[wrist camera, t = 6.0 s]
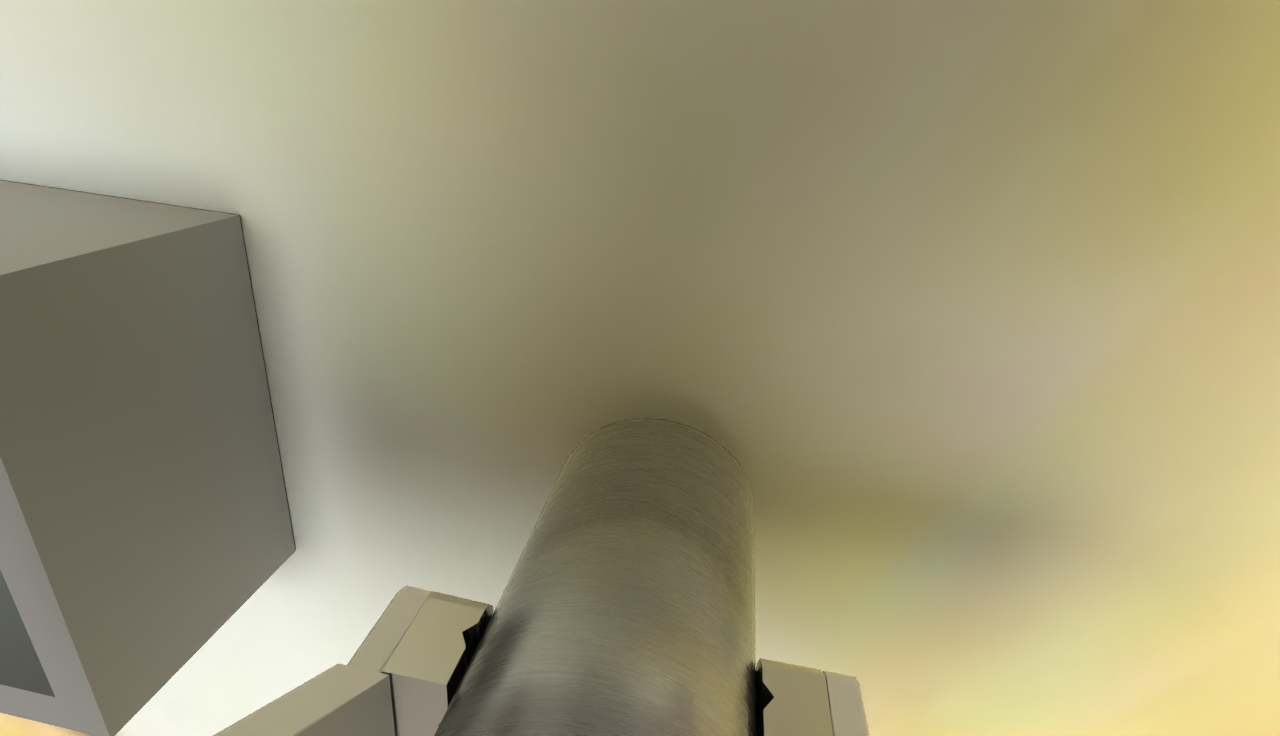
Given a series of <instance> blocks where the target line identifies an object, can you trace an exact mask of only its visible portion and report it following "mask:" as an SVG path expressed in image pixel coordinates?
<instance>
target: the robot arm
mask: <svg viewBox="0 0 1280 736" xmlns="http://www.w3.org/2000/svg"><path fill="white" fill-rule="evenodd" d="M492 615H493V606H492V605H490V604H486V603H481V602H477V601H473V600H469V599H464V598H460V597H456V596H451V595H447V594H443V593H438V592H433V591H428V590H424V589H419V588H415V587H410V586H405V587H404V588H403V589H401V590H400V591H399V592H397V594H396V595H395V597H394V598H393V600H392V601H391V602H390V604H389V605H388V607H387V608H386V610H385V611H384V613H383V614H382V615H381V617H380V618H379V620H378V621H377V623H376V624H375V626H374V627H373V628H372V630H371V631H370V633H369V634H368V636H367V637H366V639H365V640H364V641H363V643H362V644H361V646H360V647H359V649H358V650H357V652H356V653H355V654H354V656H353V657H352V659H351V660H350V662H349V663H348V665H343V664H337V665H335V666H333V667H332V668H330V669H328V670H326V671H325V672H323V673H321V674H319V675H318V676H316V677H314V678H312V679H311V680H309V681H307V682H305V683H304V684H302V685H300V686H299V687H297V688H295V689H293V690H292V691H290V692H288V693H286V694H285V695H283V696H281V697H279V698H278V699H276V700H274V701H272V702H271V703H269V704H267V705H266V706H264V707H262V708H260V709H259V710H257V711H255V712H253V713H252V714H250V715H248V716H246V717H245V718H243V719H241V720H239V721H238V722H236V723H234V724H233V725H231V726H229V727H227V728H226V729H224V730H222V731H220V732H219V733H217V734H215V735H213V736H434V735H435V733H436V731H437V729H438V727H439V725H440V723H441V721H442V719H443V717H444V715H445V713H446V710H447V708H448V706H449V704H450V702H451V700H452V698H453V696H454V694H455V692H456V690H457V688H458V686H459V683H460V681H461V679H462V677H463V675H464V673H465V671H466V669H467V667H468V665H469V663H470V661H471V659H472V656H473V654H474V652H475V650H476V648H477V646H478V644H479V642H480V640H481V638H482V636H483V634H484V632H485V629H486V627H487V625H488V623H489V621H490V619H491V617H492ZM755 672H756V736H869V731H868V725H867V720H866V715H865V710H864V704H863V699H862V694H861V689H860V684H859V682H858V680H857V679H856V677H852V676H847V675H842V674H837V673H832V672H827V671H821V670H819V669H814V668H808V667H803V666H798V665H793V664H787V663H782V662H777V661H771V660H766V659H761V658H760V660H759V661H758V663H757V667H756V670H755Z"/></svg>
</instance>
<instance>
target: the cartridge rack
mask: <svg viewBox="0 0 1280 736" xmlns="http://www.w3.org/2000/svg"><path fill="white" fill-rule="evenodd" d="M294 552H295V545H294V539H293V533H292V527H291V521H290V515H289V509H288V503H287V497H286V491H285V485H284V479H283V473H282V467H281V461H280V455H279V449H278V443H277V437H276V431H275V426H274V420H273V414H272V408H271V402H270V396H269V390H268V384H267V378H266V372H265V366H264V360H263V354H262V348H261V342H260V336H259V330H258V324H257V318H256V312H255V306H254V300H253V294H252V288H251V282H250V276H249V270H248V264H247V258H246V252H245V246H244V240H243V234H242V228H241V222H240V216H239V215H235V214H228V213H221V212H215V211H208V210H201V209H194V208H187V207H180V206H174V205H167V204H160V203H153V202H146V201H139V200H133V199H126V198H119V197H112V196H105V195H98V194H92V193H85V192H78V191H71V190H64V189H57V188H51V187H44V186H37V185H30V184H23V183H17V182H10V181H3V180H0V712H1V713H5V714H9V715H13V716H17V717H21V718H26V719H30V720H34V721H38V722H42V723H46V724H50V725H54V726H59V727H63V728H67V729H71V730H75V731H79V732H83V733H87V734H92V735H96V736H115V735H116V734H117V733H118V732H119V731H120V730H121V729H122V727H123V726H124V725H125V724H126V723H127V722H128V721H129V720H130V719H131V718H132V717H133V716H134V715H135V714H136V713H137V712H138V711H139V710H140V709H141V708H142V707H143V706H144V705H145V704H146V703H147V702H148V701H149V700H150V699H151V698H152V697H153V696H154V695H155V694H156V693H157V692H158V691H159V690H160V689H161V688H162V687H163V686H164V685H165V684H166V683H167V681H168V680H169V679H170V678H171V677H172V676H173V675H174V674H175V673H176V672H177V671H178V670H179V669H180V668H181V667H182V666H183V665H184V664H185V663H186V662H187V661H188V660H189V659H190V658H191V657H192V656H193V655H194V654H195V653H196V652H197V651H198V650H199V649H200V648H201V647H202V646H203V645H204V644H205V643H206V642H207V641H208V640H209V639H210V638H211V637H212V636H213V634H214V633H215V632H216V631H217V630H218V629H219V628H220V627H221V626H222V625H223V624H224V623H225V622H226V621H227V620H228V619H229V618H230V617H231V616H232V615H233V614H234V613H235V612H236V611H237V610H238V609H239V608H240V607H241V606H242V605H243V604H244V603H245V602H246V601H247V600H248V599H249V598H250V597H251V596H252V595H253V594H254V593H255V592H256V591H257V590H258V588H259V587H260V586H261V585H262V584H263V583H264V582H265V581H266V580H267V579H268V578H269V577H270V576H271V575H272V574H273V573H274V572H275V571H276V570H277V569H278V568H279V567H280V566H281V565H282V564H283V563H284V562H285V561H286V560H287V559H288V558H289V557H290V556H291V555H292V554H293V553H294Z"/></svg>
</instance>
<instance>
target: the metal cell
mask: <svg viewBox="0 0 1280 736" xmlns="http://www.w3.org/2000/svg"><path fill="white" fill-rule="evenodd" d="M755 670H756V669H755V585H754V506H753V496H752V491H751V488H750V485H749V482H748V479H747V477H746V475H745V473H744V471H743V470H742V468H741V467H740V465H739V464H738V462H737V461H736V460H735V458H734V457H733V456H732V455H731V454H730V453H729V452H728V451H727V450H726V449H725V448H724V447H723V446H721V445H720V444H719V443H718V442H717V441H715V440H714V439H712V438H711V437H709V436H707V435H706V434H704V433H702V432H700V431H698V430H696V429H694V428H692V427H689V426H686V425H683V424H680V423H676V422H672V421H668V420H660V419H632V420H625V421H621V422H617V423H613V424H611V425H608V426H606V427H603V428H601V429H599V430H597V431H596V432H594V433H592V434H591V435H589V436H588V437H587V438H585V439H584V440H583V441H582V442H581V443H580V444H579V445H578V446H577V447H576V448H575V449H574V450H573V452H572V453H571V455H570V456H569V457H568V459H567V461H566V463H565V465H564V467H563V469H562V472H561V474H560V476H559V478H558V480H557V482H556V484H555V486H554V488H553V490H552V492H551V494H550V496H549V499H548V501H547V503H546V505H545V507H544V509H543V511H542V513H541V515H540V517H539V519H538V521H537V523H536V526H535V528H534V530H533V532H532V534H531V536H530V538H529V540H528V542H527V544H526V546H525V548H524V550H523V553H522V555H521V557H520V559H519V561H518V563H517V565H516V567H515V569H514V571H513V573H512V575H511V578H510V580H509V582H508V584H507V586H506V588H505V590H504V592H503V594H502V596H501V598H500V600H499V602H498V605H497V607H496V609H495V611H494V613H493V615H492V617H491V619H490V621H489V623H488V625H487V627H486V629H485V632H484V634H483V636H482V638H481V640H480V642H479V644H478V646H477V648H476V650H475V652H474V654H473V656H472V659H471V661H470V663H469V665H468V667H467V669H466V671H465V673H464V675H463V677H462V679H461V681H460V683H459V686H458V688H457V690H456V692H455V694H454V696H453V698H452V700H451V702H450V704H449V706H448V708H447V710H446V713H445V715H444V717H443V719H442V721H441V723H440V725H439V727H438V729H437V731H436V733H435V735H434V736H756V672H755Z"/></svg>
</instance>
